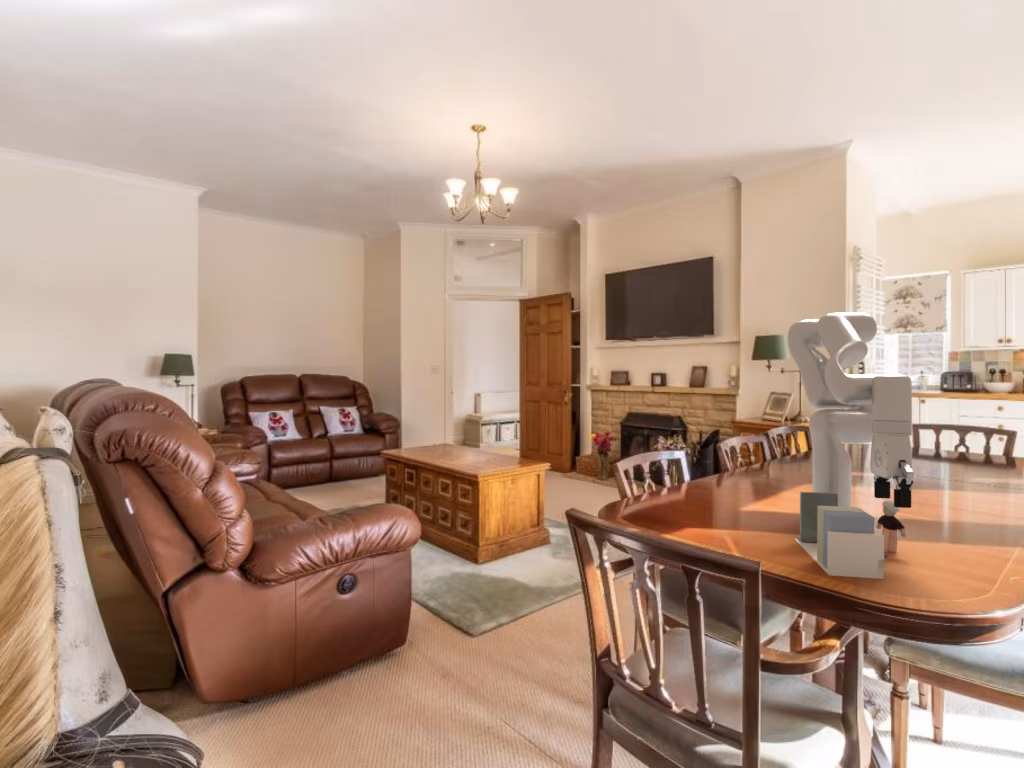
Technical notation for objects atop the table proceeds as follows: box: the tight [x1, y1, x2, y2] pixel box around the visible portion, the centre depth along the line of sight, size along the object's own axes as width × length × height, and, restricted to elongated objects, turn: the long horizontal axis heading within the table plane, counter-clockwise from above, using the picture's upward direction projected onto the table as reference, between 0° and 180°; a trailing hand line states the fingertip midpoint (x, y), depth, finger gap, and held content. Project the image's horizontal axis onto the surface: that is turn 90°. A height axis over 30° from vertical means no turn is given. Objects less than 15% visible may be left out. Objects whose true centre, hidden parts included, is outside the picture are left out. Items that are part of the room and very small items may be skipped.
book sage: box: [817, 506, 866, 566], centre depth 117 cm, size 4×8×12 cm, turn 78°
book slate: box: [824, 511, 875, 569], centre depth 113 cm, size 4×8×12 cm, turn 78°
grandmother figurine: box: [875, 500, 907, 553], centre depth 125 cm, size 8×4×13 cm, turn 21°
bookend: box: [796, 491, 838, 543], centre depth 132 cm, size 3×8×12 cm, turn 78°
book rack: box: [794, 531, 885, 580], centre depth 122 cm, size 24×10×10 cm, turn 168°
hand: (892, 502), depth 124 cm, fingers open, 9 cm apart
